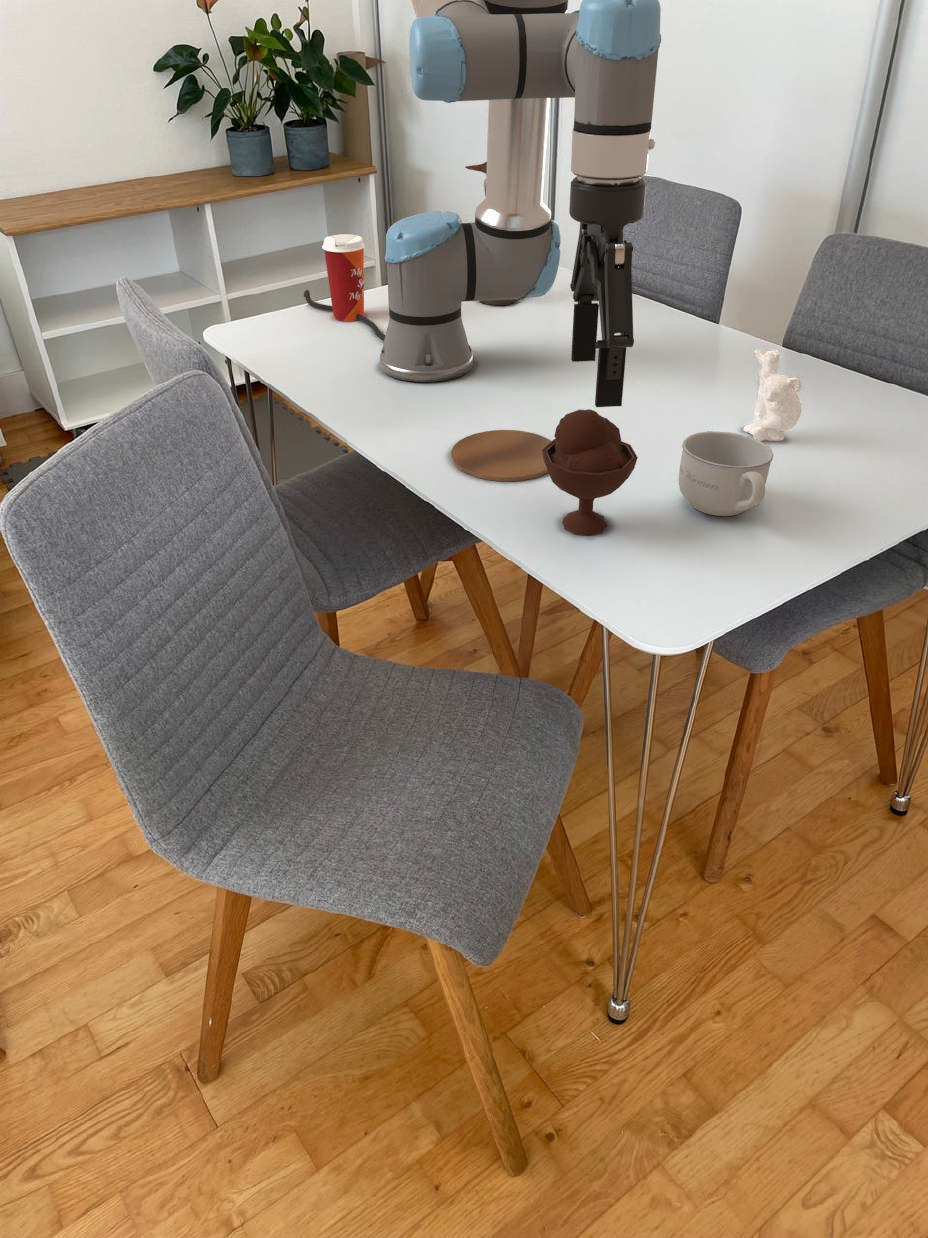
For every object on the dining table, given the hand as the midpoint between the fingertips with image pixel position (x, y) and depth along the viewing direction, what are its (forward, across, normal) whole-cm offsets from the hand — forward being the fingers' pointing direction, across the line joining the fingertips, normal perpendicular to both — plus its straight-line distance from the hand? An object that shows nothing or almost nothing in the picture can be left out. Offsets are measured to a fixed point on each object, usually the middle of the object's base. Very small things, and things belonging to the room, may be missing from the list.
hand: (595, 381), depth 112 cm
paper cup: (+18, +82, +28) cm, 89 cm away
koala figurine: (+18, +22, -30) cm, 42 cm away
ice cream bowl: (+18, 0, 0) cm, 18 cm away
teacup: (+18, +2, -18) cm, 26 cm away
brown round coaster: (+18, +20, +7) cm, 28 cm away
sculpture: (+18, +89, 0) cm, 91 cm away
